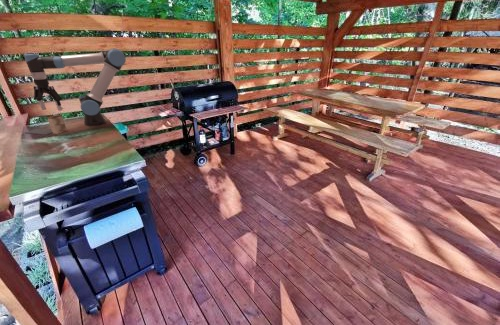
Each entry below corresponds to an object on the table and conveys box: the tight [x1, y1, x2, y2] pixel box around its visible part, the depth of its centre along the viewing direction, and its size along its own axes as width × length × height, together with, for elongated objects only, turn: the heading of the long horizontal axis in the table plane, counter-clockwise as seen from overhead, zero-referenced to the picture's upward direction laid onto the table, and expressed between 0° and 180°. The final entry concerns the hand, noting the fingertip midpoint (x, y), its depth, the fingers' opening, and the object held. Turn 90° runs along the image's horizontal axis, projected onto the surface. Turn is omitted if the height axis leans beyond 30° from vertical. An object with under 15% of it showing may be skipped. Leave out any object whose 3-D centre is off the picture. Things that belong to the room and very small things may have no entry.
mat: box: [24, 128, 54, 136], centre depth 177 cm, size 10×20×1 cm, turn 78°
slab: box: [46, 114, 68, 135], centre depth 175 cm, size 8×4×12 cm, turn 168°
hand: (52, 110), depth 169 cm, fingers open, 13 cm apart
